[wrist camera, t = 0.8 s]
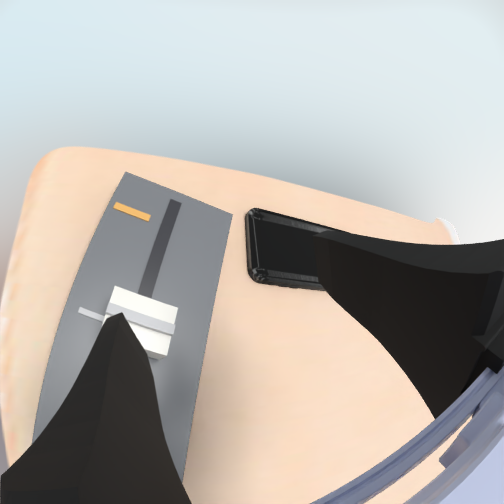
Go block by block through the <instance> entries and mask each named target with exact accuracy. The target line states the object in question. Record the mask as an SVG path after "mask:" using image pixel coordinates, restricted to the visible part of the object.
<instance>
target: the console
mask: <svg viewBox="0 0 504 504" xmlns="http://www.w3.org/2000/svg"><path fill="white" fill-rule="evenodd" d="M232 216H233V214H230V213H228V212H225V211H223V210H220V209H218V208H216V207H213V206H211V205H208V204H206V203H203V202H201V201H198V200H196V199H194V198H191V197H189V196H186V195H184V194H181V193H179V192H176V191H174V190H171V189H169V188H166V187H164V186H161V185H158V184H156V183H153V182H151V181H148V180H146V179H143V178H141V177H138V176H135V175H133V174H130V173H128V172H125V174H124V176H123V177H122V179H121V181H120V183H119V185H118V187H117V189H116V190H115V192H114V194H113V196H112V198H111V200H110V202H109V204H108V206H107V208H106V210H105V212H104V214H103V216H102V218H101V220H100V222H99V225H98V227H97V229H96V231H95V233H94V235H93V238H92V240H91V242H90V244H89V247H88V249H87V251H86V254H85V256H84V258H83V261H82V263H81V265H80V268H79V270H78V273H77V275H76V278H75V281H74V283H73V286H72V288H71V291H70V294H69V297H68V299H67V302H66V305H65V308H64V311H63V314H62V317H61V320H60V323H59V326H58V329H57V333H56V336H55V339H54V343H53V346H52V349H51V353H50V357H49V360H48V364H47V368H46V372H45V376H44V381H43V385H42V389H41V394H40V399H39V404H38V409H37V414H36V420H35V426H34V433H33V440H32V444H33V443H34V441H35V440H36V439H37V438H38V436H39V435H40V434H41V433H42V431H43V430H44V429H45V427H46V426H47V425H48V423H49V422H50V420H51V419H52V418H53V416H54V415H55V413H56V412H57V411H58V409H59V408H60V406H61V405H62V403H63V401H64V400H65V398H66V397H67V395H68V393H69V392H70V390H71V388H72V386H73V385H74V383H75V381H76V379H77V377H78V375H79V373H80V371H81V369H82V367H83V365H84V363H85V361H86V359H87V357H88V355H89V353H90V351H91V349H92V347H93V345H94V343H95V341H96V338H97V336H98V334H99V332H100V330H101V328H102V324H103V321H104V318H105V314H106V309H107V306H108V303H109V302H110V299H111V296H112V293H113V290H114V287H115V286H117V287H120V288H123V289H125V290H128V291H131V292H134V293H136V294H139V295H142V296H145V297H148V298H151V299H153V300H156V301H159V302H162V303H165V304H168V305H171V306H174V307H177V308H178V310H177V315H176V319H175V323H174V324H175V329H174V334H173V335H172V336H171V340H170V345H169V349H168V354H167V356H166V357H164V358H162V359H160V360H157V359H154V358H151V357H148V359H149V362H150V366H151V369H152V373H153V377H154V382H155V388H156V394H157V400H158V405H159V411H160V416H161V422H162V427H163V432H164V435H165V439H166V443H167V446H168V449H169V451H170V454H171V457H172V460H173V462H174V465H175V468H176V470H177V472H178V475H179V477H180V480H181V482H183V475H184V469H185V462H186V456H187V450H188V444H189V438H190V432H191V426H192V420H193V414H194V408H195V402H196V397H197V391H198V385H199V380H200V374H201V369H202V364H203V358H204V353H205V348H206V342H207V337H208V332H209V327H210V322H211V316H212V311H213V306H214V301H215V296H216V291H217V286H218V282H219V277H220V272H221V267H222V262H223V257H224V253H225V248H226V243H227V239H228V234H229V229H230V225H231V220H232Z"/></svg>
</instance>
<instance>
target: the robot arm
mask: <svg viewBox="0 0 504 504" xmlns="http://www.w3.org/2000/svg"><path fill="white" fill-rule="evenodd" d="M313 243H314V250H315V258H316V266H317V275H318V281H319V283H320V284H321V285H322V286H323V288H324V289H325V290H326V291H327V293H328V294H329V295H330V296H331V297H332V298H333V299H334V300H335V301H336V302H337V303H338V304H339V305H340V306H341V307H342V308H343V309H344V310H346V311H347V312H348V313H349V314H350V315H351V316H352V317H353V318H355V319H356V320H357V321H358V322H359V323H360V324H361V325H362V326H363V327H365V328H366V329H367V330H368V331H369V332H370V333H371V334H372V335H373V336H374V337H375V338H376V339H377V340H378V341H379V342H380V343H381V344H382V345H383V346H384V348H385V349H386V350H387V351H388V352H389V353H390V355H391V356H392V357H393V358H394V360H395V361H396V362H397V363H398V365H399V366H400V367H401V368H402V370H403V371H404V372H405V374H406V375H407V376H408V378H409V379H410V381H411V382H412V383H413V385H414V386H415V388H416V389H417V390H418V392H419V393H420V395H421V397H422V398H423V400H424V401H425V403H426V405H427V406H428V408H429V409H430V411H431V413H432V415H433V417H434V418H435V420H434V421H433V422H432V423H431V424H430V425H428V426H427V427H426V428H425V429H424V430H422V431H421V432H420V433H419V434H418V435H416V436H415V437H414V438H413V439H411V440H410V441H409V442H408V443H406V444H405V445H404V446H402V447H401V448H400V449H398V450H397V451H396V452H394V453H393V454H392V455H390V456H389V457H387V458H386V459H385V460H383V461H382V462H380V463H379V464H377V465H376V466H374V467H373V468H371V469H370V470H368V471H367V472H365V473H364V474H362V475H360V476H359V477H357V478H356V479H354V480H352V481H351V482H349V483H347V484H346V485H344V486H342V487H340V488H339V489H337V490H335V491H333V492H331V493H330V494H328V495H326V496H324V497H322V498H320V499H318V500H316V501H314V502H312V503H310V504H363V503H365V502H367V501H368V500H370V499H371V498H373V497H375V496H376V495H378V494H379V493H381V492H382V491H384V490H385V489H386V488H388V487H389V486H391V485H392V484H394V483H395V482H396V481H398V480H399V479H400V478H402V477H403V476H404V475H406V474H407V473H408V472H410V471H411V470H412V469H413V468H415V467H416V466H417V465H419V464H420V463H421V462H422V461H423V460H425V459H426V458H427V457H428V456H429V455H430V454H432V453H433V452H434V451H435V450H436V449H437V448H438V447H440V446H441V445H442V444H443V443H444V442H445V441H446V440H447V439H448V438H449V437H450V436H451V435H452V434H454V433H455V432H456V431H457V430H458V429H459V428H460V427H461V426H462V425H463V424H464V423H465V422H466V421H467V419H468V418H469V417H470V416H471V415H472V414H473V415H472V419H471V421H470V422H469V423H468V424H467V425H466V426H465V427H464V428H463V430H462V431H461V432H460V433H459V435H458V436H457V438H456V439H455V441H454V442H453V443H452V445H451V446H450V447H449V448H448V449H447V450H446V452H445V453H444V454H443V455H442V456H441V457H440V458H439V462H440V463H441V464H442V465H443V466H444V467H445V468H446V469H445V470H444V471H443V472H442V473H441V474H439V475H438V476H437V477H436V478H435V479H434V480H432V481H431V482H430V483H429V484H428V485H426V486H425V487H424V488H423V489H422V490H420V491H419V492H418V493H417V494H415V495H414V496H413V497H411V498H410V499H409V500H407V501H406V502H405V503H403V504H504V239H502V240H496V241H491V242H484V243H475V244H462V245H429V244H415V243H406V242H398V241H391V240H385V239H379V238H373V237H368V236H362V235H357V234H351V233H346V232H339V231H331V230H326V231H323V232H321V233H318V234H316V235H313ZM0 504H191V502H190V499H189V497H188V495H187V493H186V491H185V489H184V487H183V484H182V482H181V480H180V477H179V475H178V472H177V470H176V468H175V465H174V462H173V460H172V457H171V454H170V451H169V449H168V446H167V443H166V439H165V435H164V432H163V427H162V422H161V416H160V411H159V405H158V400H157V394H156V388H155V382H154V377H153V373H152V369H151V366H150V362H149V359H148V355H147V353H146V351H145V350H144V348H143V346H142V345H141V343H140V341H139V340H138V338H137V337H136V335H135V333H134V332H133V330H132V328H131V326H130V325H129V323H128V321H127V320H126V318H125V316H124V314H123V313H122V312H121V313H118V314H116V315H113V316H111V317H108V318H107V319H106V320H105V322H104V324H103V326H102V328H101V330H100V332H99V334H98V336H97V338H96V341H95V343H94V345H93V347H92V349H91V351H90V353H89V355H88V357H87V359H86V361H85V363H84V365H83V367H82V369H81V371H80V373H79V375H78V377H77V379H76V381H75V383H74V385H73V386H72V388H71V390H70V392H69V393H68V395H67V397H66V398H65V400H64V401H63V403H62V405H61V406H60V408H59V409H58V411H57V412H56V413H55V415H54V416H53V418H52V419H51V420H50V422H49V423H48V425H47V426H46V427H45V429H44V430H43V431H42V433H41V434H40V435H39V436H38V438H37V439H36V440H35V441H34V443H33V444H32V445H31V446H30V447H29V448H28V449H27V451H26V452H25V453H24V454H23V455H22V456H21V457H20V458H19V459H18V460H17V461H16V462H15V463H14V464H13V465H12V466H11V467H10V468H9V469H8V470H7V471H6V472H5V473H3V474H2V475H1V482H0Z"/></svg>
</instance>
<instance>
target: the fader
mask: <svg viewBox="0 0 504 504" xmlns="http://www.w3.org/2000/svg"><path fill="white" fill-rule="evenodd" d="M177 310H178V308H177V307H174V306H171V305H168V304H165V303H162V302H159V301H156V300H153V299H151V298H148V297H145V296H142V295H139V294H136V293H134V292H131V291H128V290H125V289H123V288H120V287H117V286H115V287H114V290H113V293H112V296H111V299H110V302H109V303H108V306H107V309H106V314H105V318H104V321H103V324H104V322H105V320H106V319H107V318H108V317H111V316H113V315H116V314H118V313H121V312H122V313H123V314H124V316H125V318H126V320H127V321H128V323H129V325H130V326H131V328H132V330H133V332H134V333H135V335H136V337H137V338H138V340H139V341H140V343H141V345H142V346H143V348H144V350H145V351H146V353H147V355H148V357H151V358H154V359H157V360H160V359H162V358H164V357H166V356H167V354H168V349H169V345H170V340H171V336H172V335H173V334H174V329H175V324H174V323H175V319H176V315H177ZM103 324H102V326H103Z"/></svg>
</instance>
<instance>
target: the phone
mask: <svg viewBox="0 0 504 504" xmlns="http://www.w3.org/2000/svg"><path fill="white" fill-rule="evenodd" d="M326 230H331V231H339V232H345V231H342V230H338V229H335V228H331V227H327V226H324V225H320V224H316V223H313V222H309V221H305V220H302V219H298V218H294V217H290V216H286V215H282V214H279V213H275V212H271V211H267V210H263V209H259V208H252V209H251V210H250V211H249V212H248V213H247V214H246V216H245V231H246V249H247V267H248V274H249V276H250V277H251V278H252V280H254V281H255V282H257V283H262V284H269V285H278V286H284V287H291V288H303V289H311V290H320V291H326V290H325V289H324V288H323V286H322V285H321V284H320V283H319V281H318V275H317V266H316V258H315V250H314V243H313V235H316V234H318V233H321V232H323V231H326ZM346 233H349V232H346Z"/></svg>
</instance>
